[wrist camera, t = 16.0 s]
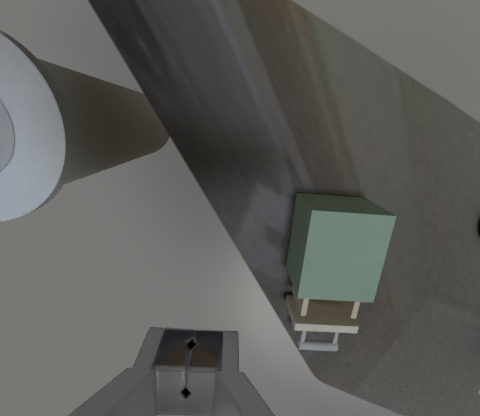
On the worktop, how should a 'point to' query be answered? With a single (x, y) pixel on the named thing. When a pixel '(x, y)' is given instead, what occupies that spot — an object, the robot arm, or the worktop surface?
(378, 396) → the worktop surface
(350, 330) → the drawer
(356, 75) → the worktop surface
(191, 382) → the robot arm
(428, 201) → the worktop surface
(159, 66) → the worktop surface
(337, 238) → the cabinet
